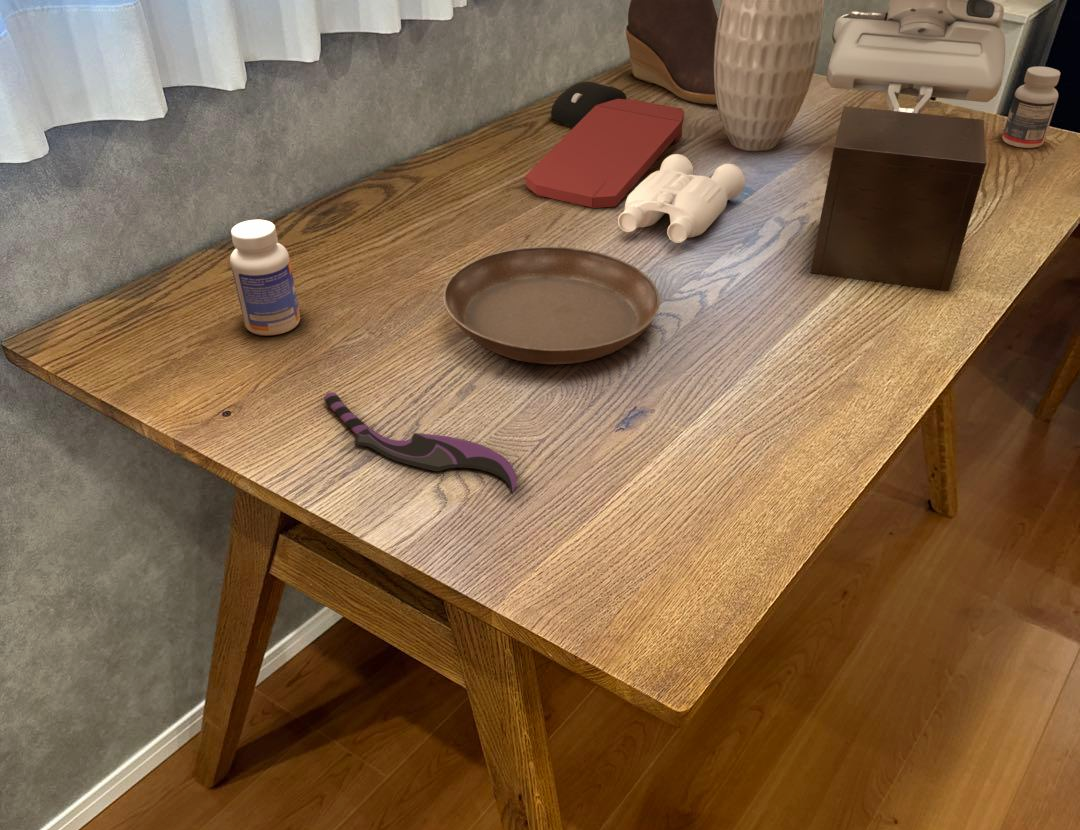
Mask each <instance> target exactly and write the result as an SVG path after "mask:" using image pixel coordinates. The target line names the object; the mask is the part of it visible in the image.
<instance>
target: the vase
mask: <svg viewBox="0 0 1080 830" xmlns="http://www.w3.org/2000/svg"><path fill="white" fill-rule="evenodd" d="M824 14H825V0H720V3H719V9H718V14H717V17H718V22H717V29H716V38H715V48H714V88H715V94H716V101H717V104H716V106H717V110H718V114H719V119H720V122H721V125H722V127H723V129H724V132H725V134H726V136H727V139H728V141H729V143H730V145H732V146H733V147H735V148H736V149H739V150H741V151H742V150H743V151H747V152H765V151H770V150H772V149H774V148H775V147H777V145H778V144H779V143H780V141H781V140H782V139H783V137H784V136H785V135H786V133H787V132H788V131H789V129H790V128H791V127H792V126H793V123H794V121H795V120H796V117H797V116H798V114H799V112H800V111H801V108H802V106H803V103H804V101H805V99H806V96H807V94H808V92H809V88H810V85H811V83H812V79H813V76H814V74H815V73H814V72H815V68H816V64H817V60H818V55H819V50H820V44H821V40H822V39H821V38H822V33H823V24H824Z"/></svg>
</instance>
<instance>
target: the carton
mask: <svg viewBox="0 0 1080 830" xmlns="http://www.w3.org/2000/svg"><path fill="white" fill-rule="evenodd" d="M684 121H685V110H684V109H683V108H681V107H677V106H676V107H675V106H670V105H664V104H660V103H654V102H648V101H642V100H637V99H631V98H627V99H625V100H624V99H615V100H612V101H608V102H605V103H602V104H598V105H596V106H595V107H594V108H593V109H592V110H591V111H590V112H589V113H588V114H587V115H586V116H585V117H584V118H583V119H582V120H581V121H580V122H579V123H578V124H577V125H576V126H575V127H573V128H571V129H570V130H569V131H568V132H567V133H566V134H565V135H564V136H563V137H562V138H561V140H559V141H558V142H557V143H556V144H555V145H554V147H552V148H551V149H550V150H549V151H548V152H547V153H546V154H545V155H544V156H543V157H542V158H541V159H540V160H539V161H538V162H537V163H536V164H535V165H534V166H533V167H532V168H531V169H530V170H529V171H528V172H527V173H526V174H525V175H524V181H525V187H527V188H528V189H529V190H530V191H531V192H532V193H534V194H535V195H536V196H540V197H545V198H549V199H553V200H558V201H561V202H567V203H571V204H574V205H580V206H584V207H587V208H592V209H597V208H610V207H612V208H613V207H617V205H618V204H620V202H621V201H622V200H623V199H624V198H625V196H626V195H627V194H628V193H629V192H630V190H632V188H633V187H634V186H635V185H636V184H637V183H638V182H639V181H640V180H641V178H643V176H644V175H645V173H647V172H648V170H649V169H650V168H651V167H652V166H653V165H654V163H655V162H656V161H657V160H658V159H659V158H660V156H661V155H662V154H663V153H665V151H666V150H667V148H668V147H669V146H671V144H673V145H676V144H677V143H679V141H680V140H681V139H682V137H683V125H684Z"/></svg>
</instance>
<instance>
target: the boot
mask: <svg viewBox="0 0 1080 830" xmlns="http://www.w3.org/2000/svg"><path fill="white" fill-rule="evenodd" d="M627 12H628V13H627V25H626V27H625V36H626V40H627V45H628V50H629V58H630V63H631V70H632V75H633V76H634V78H637V79H638V80H642V81H643V82H647V83H649V84H655V85H657V86H660V87H661V88H664V89H666V90H668V91H670V93H672V94H674V95H675V96H676V97H678V98H680V99H682V100H684V101H687V102H692V103H698V104H703V105H717V101H716V94H715V88H714V48H715V38H716V29H717V22H718V14H717V10H716V7H715V5H714V0H630V3H629V6H628V11H627Z"/></svg>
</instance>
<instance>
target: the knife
mask: <svg viewBox="0 0 1080 830" xmlns="http://www.w3.org/2000/svg"><path fill="white" fill-rule="evenodd" d="M323 400H324V402H325V404H326V405H327V406H328V407H329V408H330V409H331V410H332V411H333V412H334V414H335V415H337V417H338V418H339V419H340V420H341V421H342V422H343V423H344V424H345V425H346V426H347V427H348V428H349V429H350V431H352V432H353V434H355V440H354V444H353V446H362V447H369V448H371V449H373V450H374V451H376V452H378V453H379V454H381V455H383V456H385V457H387V458H389V459H391V460H394V461H396V462H399V463H402V464H405V465H409V466H412V467H416V468H419V469H421V468H422V469H425V470H430V471H434V472H440V471H444V470H445V471H446V470H449V469H456V468H466V469H467V468H469V469H475V470H480V471H485V472H489V473H491V474H494V475H495V476H498V477H499V478H501V479H502V480H503V481H505V483H506V484H507V485H508V487H509V488H510V491H511V493H514V491H515V489H516V487H517V484H518V479H517V474H516V471H515V469H514V467H513V465H512V464H511V463H510V462H509V460H507V459H506V457H504V456H503V455H502V454H500V453H498V452H497V451H495V450H493V449H491V448H489V447H488V446H484V445H482V444H479V443H477V442H474V441H470V440H465V439H463V438H457V437H454V436H448V435H439V434H430V433H421V432H420V433H419V432H414V433H413V434H412V436H411V437H410V438H409V439H405V440H397V439H391V438H388V437H385V436H384V435H382V434H380V433H379V432H377V431H376V430H375V429H374V428H370V427H369V426H368V425H367V424H366V423H365V422H364V421H362V420H361V419H360V418H359V417H358V416H356V415H355V414H354V413H353V412H352V410H351V409H349V408H348V406H347V405H346V404H345V403H344V402H343V400H342V399H341V398H340V397H339V395H338V394H337V393H335V392H333V391H331V392H328V393H325V395H324V397H323Z"/></svg>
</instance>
